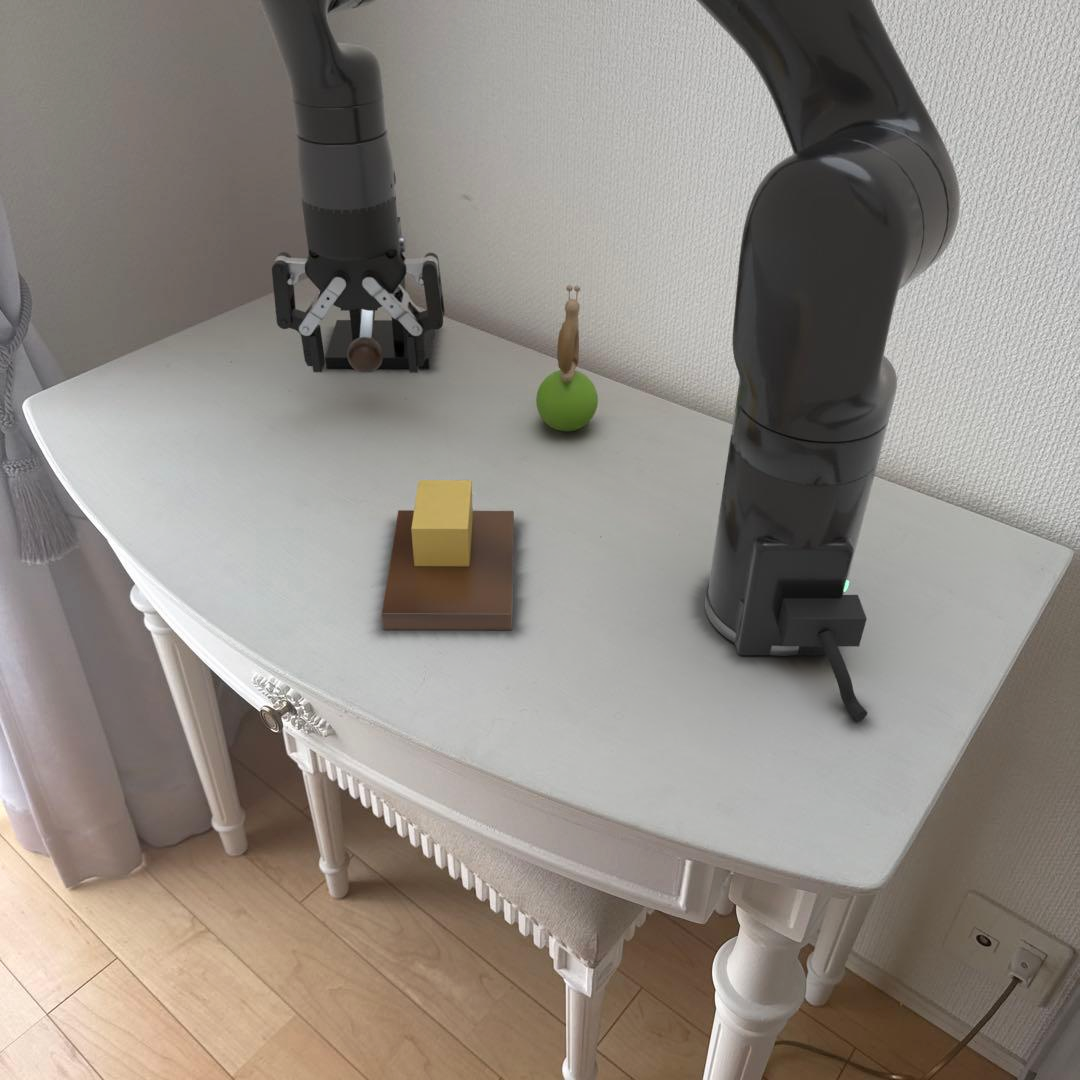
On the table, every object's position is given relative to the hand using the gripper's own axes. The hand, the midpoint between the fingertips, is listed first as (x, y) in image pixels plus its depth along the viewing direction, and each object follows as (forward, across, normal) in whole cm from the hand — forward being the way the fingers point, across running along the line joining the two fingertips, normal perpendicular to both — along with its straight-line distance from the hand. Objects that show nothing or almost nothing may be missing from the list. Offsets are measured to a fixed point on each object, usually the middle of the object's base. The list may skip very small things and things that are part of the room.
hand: (367, 368), depth 94 cm
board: (+4, +9, -24) cm, 26 cm away
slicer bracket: (+4, 0, +11) cm, 12 cm away
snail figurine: (+4, +18, -3) cm, 19 cm away
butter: (+3, +8, -22) cm, 23 cm away
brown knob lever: (-3, 0, +7) cm, 7 cm away
